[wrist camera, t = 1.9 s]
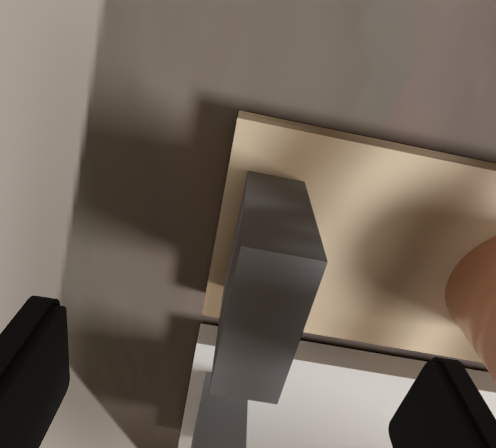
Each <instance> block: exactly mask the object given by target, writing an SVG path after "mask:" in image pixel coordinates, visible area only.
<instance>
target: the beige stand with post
mask: <svg viewBox="0 0 496 448" xmlns="http://www.w3.org/2000/svg"><path fill="white" fill-rule="evenodd" d="M495 236H496V163H491V162H486V161H481V160H477V159H472V158H467V157H462V156H457V155H452V154H448V153H443V152H438V151H433V150H428V149H424V148H419V147H414V146H409V145H404V144H399V143H395V142H390V141H385V140H380V139H375V138H371V137H366V136H361V135H356V134H351V133H346V132H342V131H337V130H332V129H327V128H322V127H318V126H313V125H308V124H303V123H298V122H293V121H289V120H284V119H279V118H274V117H269V116H265V115H260V114H255V113H250V112H245V111H240V110H239V113H238V117H237V123H236V128H235V134H234V139H233V145H232V150H231V156H230V162H229V167H228V173H227V178H226V184H225V189H224V195H223V200H222V206H221V211H220V217H219V222H218V228H217V234H216V239H215V245H214V250H213V256H212V261H211V267H210V272H209V278H208V283H207V289H206V295H205V300H204V306H203V311H202V315H206V316H212V317H218V318H219V324H218V331H217V338H216V345H215V352H214V359H213V367H212V374H211V381H210V388H209V394H214V395H220V396H227V397H233V398H239V399H246V400H252V401H258V402H265V403H271V404H278V401H279V398H280V395H281V393H282V390H283V387H284V384H285V381H286V378H287V376H288V373H289V370H290V367H291V364H292V362H293V359H294V356H295V353H296V350H297V347H298V345H299V342H300V339H301V336H302V333H303V332H306V333H312V334H318V335H323V336H329V337H335V338H341V339H347V340H353V341H358V342H364V343H370V344H376V345H382V346H388V347H394V348H399V349H405V350H411V351H417V352H423V353H429V354H435V355H440V356H446V357H452V358H458V359H464V360H470V361H476V362H481V363H483V362H482V361H481V359H480V358H479V356H478V355H477V353H476V352H475V350H474V349H473V347H472V346H471V344H470V343H469V341H468V340H467V338H466V337H465V335H464V334H463V332H462V330H461V329H460V327H459V326H458V324H457V323H456V321H455V320H454V318H453V317H452V315H451V314H450V312H449V311H448V308H447V306H446V302H445V289H446V285H447V281H448V279H449V277H450V274H451V273H452V271H453V269H454V268H455V266H456V265H457V264H458V263H459V261H460V260H461V259H462V258H463V257H464V256H465V255H466V254H467V253H469V252H470V251H471V250H472V249H474V248H475V247H477V246H478V245H480V244H481V243H483V242H485V241H487V240H488V239H490V238H493V237H495Z"/></svg>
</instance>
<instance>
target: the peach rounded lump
mask: <svg viewBox="0 0 496 448" xmlns="http://www.w3.org/2000/svg"><path fill="white" fill-rule="evenodd" d="M445 302H446V306H447V308H448V311H449V312H450V314H451V315H452V317H453V318H454V320H455V321H456V323H457V324H458V326H459V327H460V329H461V330H462V332H463V334H464V335H465V337H466V338H467V340H468V341H469V343H470V344H471V346H472V347H473V349H474V350H475V352H476V353H477V355H478V356H479V358H480V359H481V361H482V362H483V364H484V365H485V367H486V368H487V370H488V371H489V373H490V374H491V376H492V377H493V379H494V380H495V382H496V236H495V237H493V238H490V239H488V240H487V241H485V242H483V243H481V244H480V245H478V246H477V247H475V248H474V249H472V250H471V251H470V252H469V253H467V254H466V255H465V256H464V257H463V258H462V259H461V260H460V261H459V263H458V264H457V265H456V266H455V268H454V269H453V271H452V273H451V274H450V277H449V279H448V281H447V285H446V289H445Z"/></svg>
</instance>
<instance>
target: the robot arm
mask: <svg viewBox="0 0 496 448" xmlns="http://www.w3.org/2000/svg"><path fill="white" fill-rule="evenodd" d="M69 380H70V374H69V354H68V334H67V314H66V307H64V306H60V302H59V300H58V299H52V298H46V297H40V296H31V297H30V298H29V299H28V300H27V301H26V303H25V304H24V305H23V307H22V308H21V309H20V310H19V311H18V313H17V314H16V315H15V316H14V318H13V319H12V320H11V321H10V323H9V324H8V325H7V326H6V328H5V329H4V330H3V332H2V333H1V334H0V448H39V446H40V444H41V442H42V440H43V438H44V436H45V434H46V432H47V430H48V428H49V426H50V424H51V422H52V420H53V418H54V416H55V414H56V412H57V410H58V408H59V406H60V404H61V402H62V400H63V398H64V396H65V394H66V391H67V389H68V385H69ZM388 432H389V437H390V440H391V444H392V447H393V448H496V419H495V417H494V415H493V414H492V412H491V410H490V409H489V407H488V405H487V404H486V402H485V400H484V399H483V397H482V395H481V394H480V392H479V391H478V389H477V387H476V386H475V384H474V382H473V381H472V379H471V377H470V376H469V374H468V372H467V371H466V369H465V368H464V366H463V365H462V363H461V362H459V361H458V360H452V359H445V358H439V357H435V358H433V359H432V360H431V361H430V362H427V363H426V364H425V365H424V367H423V368H422V370H421V371H420V373H419V375H418V376H417V378H416V380H415V381H414V383H413V385H412V386H411V388H410V389H409V391H408V393H407V394H406V396H405V398H404V399H403V401H402V402H401V404H400V406H399V407H398V409H397V411H396V412H395V414H394V416H393V417H392V419H391V420H390V423H389V427H388Z"/></svg>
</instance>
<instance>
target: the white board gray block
mask: <svg viewBox="0 0 496 448" xmlns="http://www.w3.org/2000/svg"><path fill="white" fill-rule="evenodd" d="M217 331H218V326H213V325H207V324H200V329H199V334H198V339H197V344H196V350H195V355H194V361H193V366H192V372H191V378H190V383H189V389H188V394H187V400H186V405H185V411H184V416H183V422H182V427H181V433H180V439H179V444H178V448H393V447H392V444H391V440H390V437H389V432H388V427H389V423H390V420H391V419H392V417H393V416H394V414H395V412H396V411H397V409H398V407H399V406H400V404H401V402H402V401H403V399H404V398H405V396H406V394H407V393H408V391H409V389H410V388H411V386H412V385H413V383H414V381H415V380H416V378H417V376H418V375H419V373H420V371H421V370H422V368H423V367H424V365H425V364H426V363H427V362H425V361H420V360H414V359H408V358H402V357H396V356H390V355H384V354H378V353H372V352H366V351H361V350H355V349H349V348H343V347H337V346H331V345H325V344H319V343H313V342H307V341H301V340H300V342H299V345H298V347H297V350H296V353H295V356H294V359H293V362H292V364H291V367H290V370H289V373H288V376H287V378H286V381H285V384H284V387H283V390H282V393H281V395H280V398H279V401H278V404H271V403H265V402H258V401H252V400H246V399H239V398H233V397H227V396H220V395H214V394H209V388H210V381H211V374H212V367H213V359H214V352H215V345H216V338H217ZM465 369H466V371H467V372H468V374H469V376H470V377H471V379H472V381H473V382H474V384H475V386H476V387H477V389H478V391H479V392H480V394H481V395H482V397H483V399H484V400H485V402H486V404H487V405H488V407H489V409H490V410H491V412H492V414H493V415H494V417H495V419H496V382H495V380H494V379H493V377H492V376H491V374H490V373H489V372H485V371H479V370H473V369H467V368H465Z"/></svg>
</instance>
